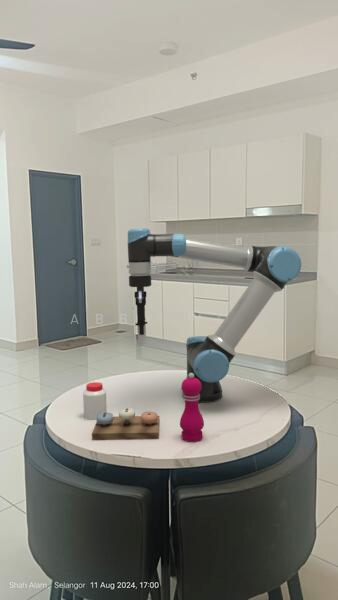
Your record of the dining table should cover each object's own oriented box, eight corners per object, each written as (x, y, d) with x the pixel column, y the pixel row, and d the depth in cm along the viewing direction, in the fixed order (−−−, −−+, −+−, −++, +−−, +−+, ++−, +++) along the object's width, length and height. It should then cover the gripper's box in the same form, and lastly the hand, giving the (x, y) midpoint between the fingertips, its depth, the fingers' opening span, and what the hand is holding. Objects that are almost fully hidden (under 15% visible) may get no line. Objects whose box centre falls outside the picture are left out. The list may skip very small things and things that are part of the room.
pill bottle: (88, 421, 161) (86, 389, 159) (81, 414, 167) (79, 383, 166) (110, 417, 164) (109, 385, 163) (102, 410, 171) (101, 380, 170)
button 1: (157, 424, 155) (157, 410, 154) (157, 430, 150) (157, 416, 149) (142, 424, 155) (141, 411, 154) (141, 430, 150) (140, 416, 149)
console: (159, 421, 159) (159, 415, 159) (158, 438, 145) (158, 432, 145) (98, 422, 159) (98, 416, 159) (92, 440, 145) (91, 433, 145)
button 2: (135, 420, 155) (135, 407, 154) (134, 426, 150) (134, 412, 149) (119, 420, 155) (119, 407, 154) (118, 426, 150) (118, 412, 149)
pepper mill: (178, 433, 149) (177, 370, 147) (202, 432, 150) (201, 369, 147) (181, 443, 142) (180, 376, 140) (205, 441, 143) (205, 375, 140)
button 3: (113, 424, 155) (113, 411, 154) (112, 431, 150) (111, 417, 149) (98, 425, 155) (97, 411, 154) (95, 431, 150) (95, 417, 149)
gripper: (129, 273, 170) (132, 339, 173) (127, 276, 157) (130, 347, 160) (151, 273, 170) (153, 339, 173) (150, 275, 157) (152, 347, 160)
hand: (142, 343), depth 166 cm, fingers closed
